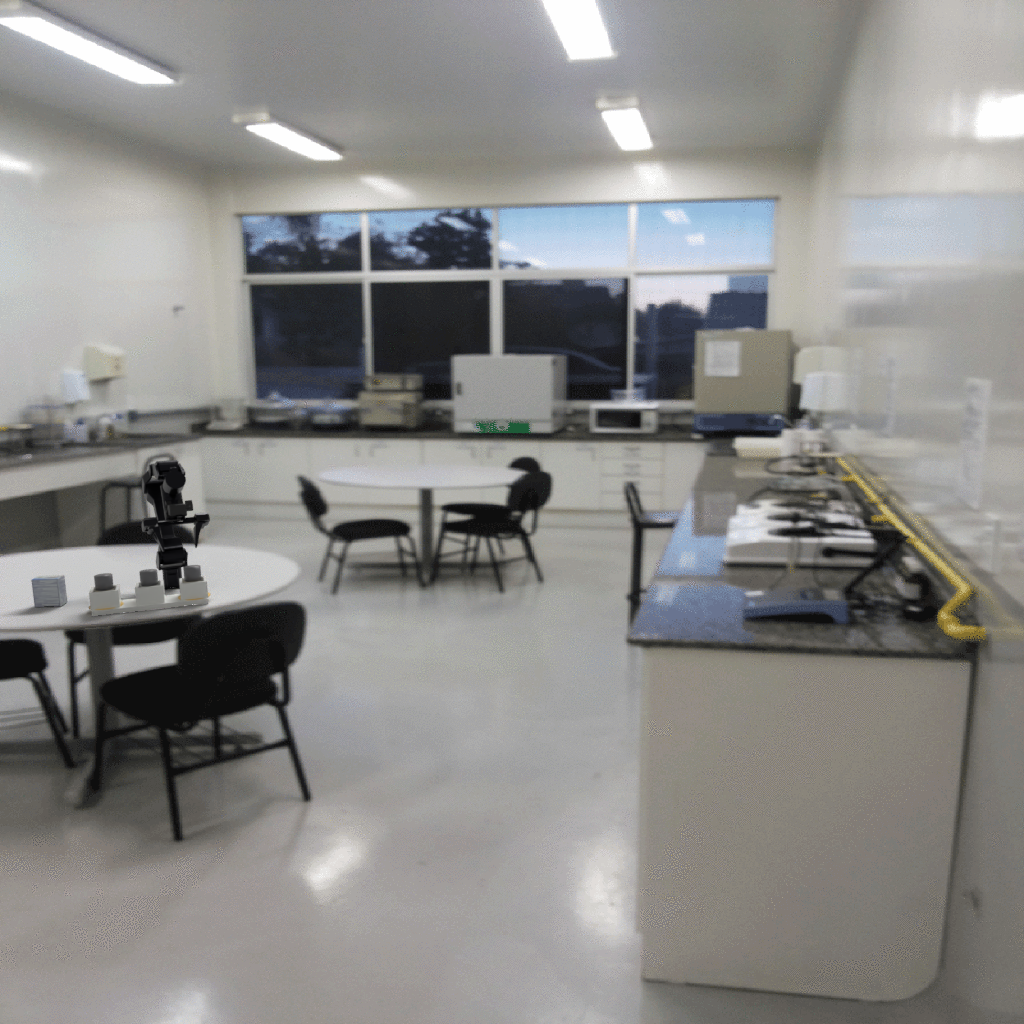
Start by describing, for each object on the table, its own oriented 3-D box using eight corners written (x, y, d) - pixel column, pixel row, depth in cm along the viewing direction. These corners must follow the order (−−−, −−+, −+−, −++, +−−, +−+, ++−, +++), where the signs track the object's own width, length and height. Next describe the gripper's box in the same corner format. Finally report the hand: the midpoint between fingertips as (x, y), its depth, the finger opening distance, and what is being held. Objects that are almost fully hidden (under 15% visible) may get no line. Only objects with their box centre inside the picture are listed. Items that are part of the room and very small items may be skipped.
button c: (96, 587, 255) (94, 574, 255) (114, 585, 257) (112, 572, 256) (94, 591, 251) (93, 577, 250) (113, 589, 253) (111, 576, 252)
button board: (90, 608, 258) (88, 586, 257) (210, 595, 270) (208, 574, 269) (87, 617, 249) (85, 594, 248) (211, 603, 260) (209, 581, 259)
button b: (140, 583, 260) (139, 570, 259) (158, 581, 261) (157, 568, 261) (140, 587, 255) (139, 573, 254) (158, 585, 257) (156, 571, 256)
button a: (184, 578, 264) (183, 565, 263) (201, 577, 265) (200, 564, 265) (184, 582, 259) (183, 569, 259) (201, 580, 261) (200, 567, 260)
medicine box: (68, 602, 265) (65, 574, 263) (61, 606, 261) (58, 578, 259) (41, 603, 265) (38, 575, 263) (34, 607, 260) (30, 579, 259)
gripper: (141, 493, 255) (149, 545, 251) (208, 488, 264) (216, 538, 260) (138, 506, 264) (145, 556, 261) (203, 500, 273) (211, 548, 270)
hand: (180, 549), depth 263 cm, fingers open, 9 cm apart
